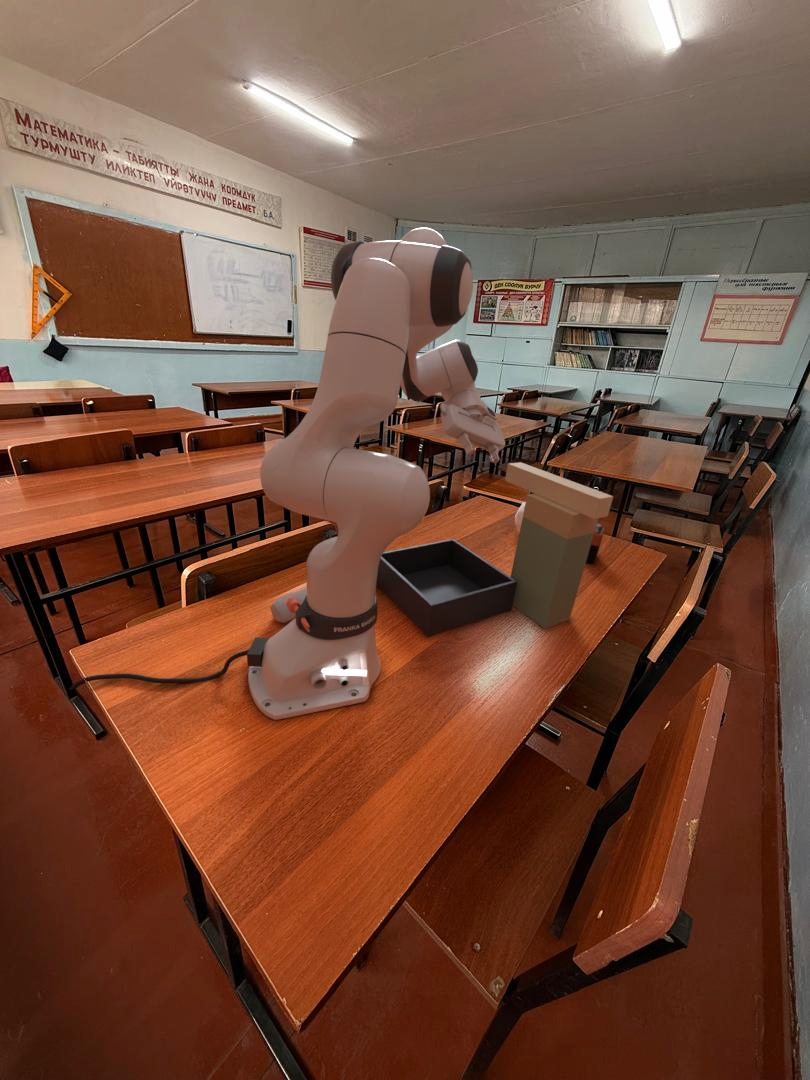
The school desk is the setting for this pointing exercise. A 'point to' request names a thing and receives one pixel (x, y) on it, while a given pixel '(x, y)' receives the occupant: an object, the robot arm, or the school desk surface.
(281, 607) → the tube
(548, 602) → the stand
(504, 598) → the bin
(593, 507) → the cream rectangular beam
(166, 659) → the school desk surface
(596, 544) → the battery
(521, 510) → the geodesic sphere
